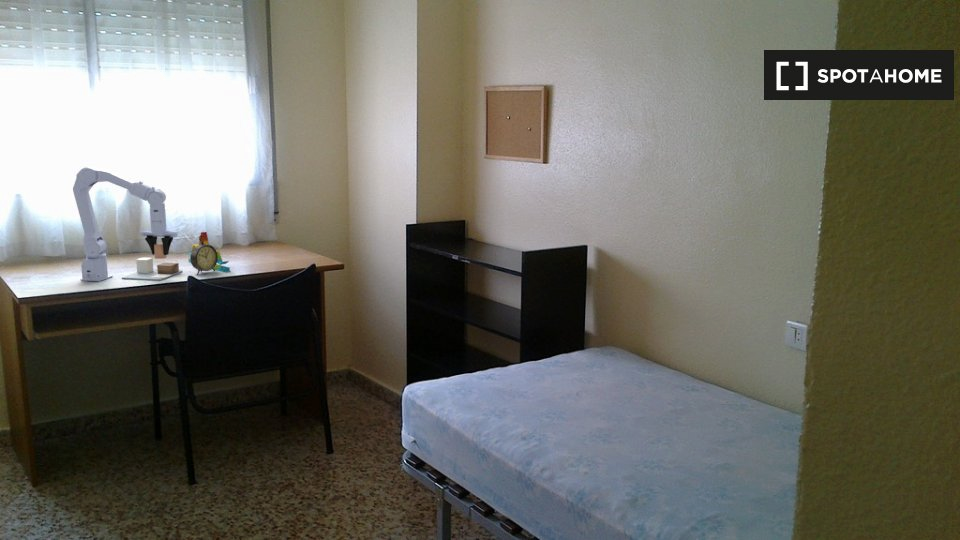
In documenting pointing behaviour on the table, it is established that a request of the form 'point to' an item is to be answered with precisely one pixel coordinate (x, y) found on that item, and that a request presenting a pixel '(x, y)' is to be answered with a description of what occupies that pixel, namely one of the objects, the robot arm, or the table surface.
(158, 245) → the terracotta round block
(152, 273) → the building board
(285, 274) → the table surface
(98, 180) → the robot arm
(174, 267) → the walnut base block
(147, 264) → the cream block
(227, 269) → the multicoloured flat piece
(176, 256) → the table surface
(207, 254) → the alarm clock
